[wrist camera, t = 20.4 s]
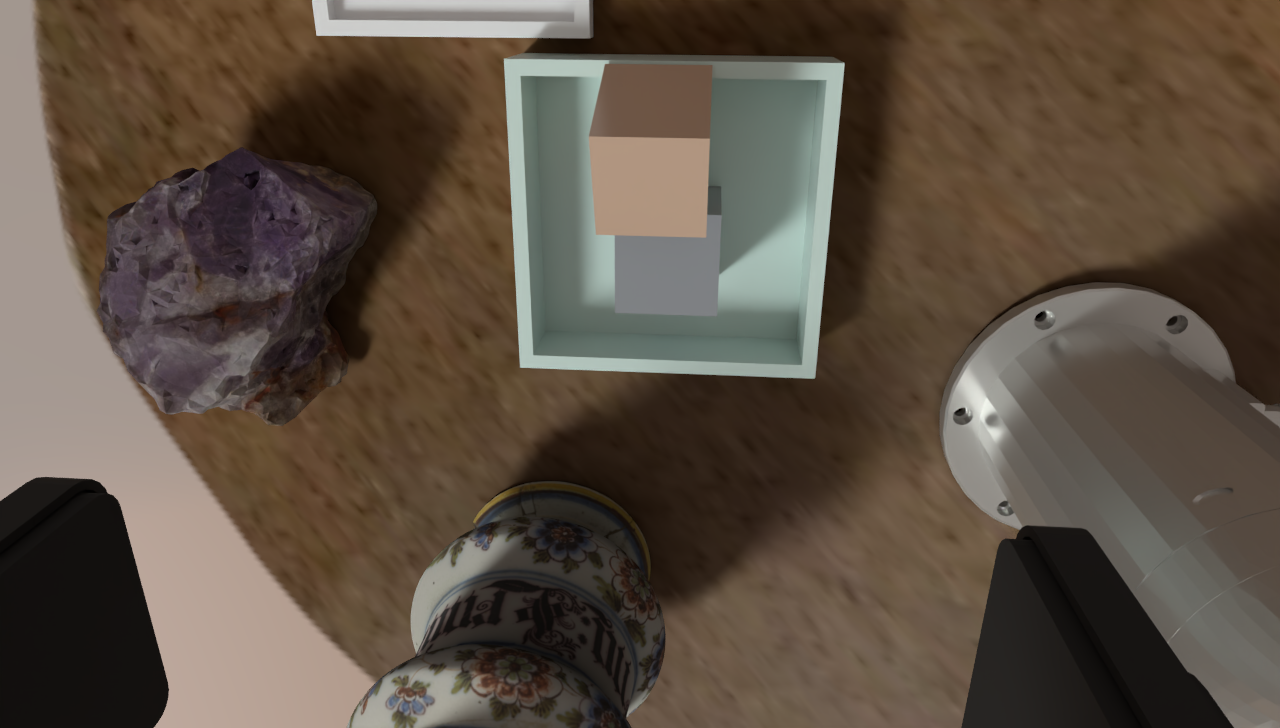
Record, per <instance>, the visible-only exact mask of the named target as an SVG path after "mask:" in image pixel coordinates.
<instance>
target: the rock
mask: <svg viewBox="0 0 1280 728" xmlns="http://www.w3.org/2000/svg"><path fill="white" fill-rule="evenodd" d="M376 214H377V202H376V200H375V198H374V196H373V195H372V194H371V193H369V192H368V191H366V190H365V189H363V187H362V186H361V185H360V184H359V183H358V182H356V181H355V180H353V179H352V178H350V177H348V176H345V175H342V174H339V173H336V172H334V171H333V170H332V169H329V168H326V167H322V166H309V165H307V164H304V163H301V162H288V161H282V160H273V159H269V158H266V157H264V156H261V155H259V154H257V153H255V152H251V151H248V150H246V149H244V148H242V147H241V148H239V149H238V150H236V151H234V152H232V153H230V154H228V155H226V156H225V157H224V158H223V159H221V160H219V161H216V162H214V163H212V164H210V165H209V166H207V167H206V168H205V169H204V170H201V171H199V170H197V169H195V168H190V169H186V170H182V171H180V172H177V173H175V174H174V175H173V176H172V177H171V178H168V179H165V180H161V181H158V182H156V184H155V186H154V187H152V188H150V189H149V190H148V191H147V192H146V193H145V194H143V195H142V196H141V198H140V199H139V200H138V201H137V202H134V203H130V204H126V205H124V206H122V207H121V208H119V209H117V210H115V211H114V212H112V213H111V214H110V215H109V216H108V219H107V243H106V248H107V255H106V258H105V268H104V270H103V271H102V273H101V274H100V284H99V292H100V296H101V298H100V303H101V304H100V305H99V307H98V309H97V313H98V314H99V316H100V318H101V320H102V321H103V332H104V333H105V334H106V335H107V337H108V338H109V340H110V343H111V346H112V350H113V353H114V354H116V355H117V356H119V357H121V358H123V359H124V362H125V365H126V367H127V370H128V372H129V373H130V374H131V375H132V376H133V377H134V378H135V379H136V380H137V382H138V383H139V384H140V385H141V386H142V387H143V388H144V389H145V390H146V391H147V392H148V393H149V394H150V395H151V396H152V397H153V398H154V399H155V401H156V403H157V405H158V407H159V410H161V411H162V412H164V413H166V414H175V413H179V412H193V413H199V414H201V413H204V412H205V411H207V410H208V409H212V408H214V407H217V406H218V407H220V408H223V409H226V410H230V411H233V410H244V411H247V412H251V413H254V414H256V415H258V416H259V417H260V418H261V419H262V420H263V421H264V422H266V423H267V424H268V425H278V426H283V425H284V424H286V423H287V422H289V421H290V420H292V419H293V418H295V417H296V416H297V415H298V414H299V413H300V412H301V411H302V410H303V409H304V408H305V407H306V406H307V405H308V404H309V403H310V402H311V401H312V400H313V399H314V398H315V397H316V396H317V395H318V394H319V393H320V392H321V391H323V390H324V389H325V388H327V387H331V386H335V385H337V384H338V383H340V382H341V378H342V377H343V376H344V375H346V374H347V368H348V362H349V358H350V357H349V356H348V354H347V353H346V351H345V350H344V347H343V345H342V342H341V339H340V336H339V334H338V332H337V331H336V330H335V329H334V328H333V327H332V326H331V325H330V323H329V322H328V320H327V318H328V314H327V312H326V311H325V308H326V306H327V304H328V303H329V301H330V299H331V297H332V296H333V295H335V294H337V293H338V291H339V290H340V289H341V288H342V286H343V285H344V284H345V280H346V271H347V267H348V263H349V262H350V260H351V259H352V258H353V256H354V254H355V252H356V251H357V249H358V248H360V247H362V246H363V245H364V242H365V240H366V238H367V236H368V235H369V230H370V225H371V223H372V222H373V220H374V218H375V216H376Z"/></svg>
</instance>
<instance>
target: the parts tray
mask: <svg viewBox="0 0 1280 728" xmlns="http://www.w3.org/2000/svg"><path fill="white" fill-rule="evenodd" d="M312 4H313V12H314V19H315V27H316V35H317V36H403V37H498V38H592V37H594V29H593V0H312Z"/></svg>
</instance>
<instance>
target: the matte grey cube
mask: <svg viewBox="0 0 1280 728" xmlns="http://www.w3.org/2000/svg"><path fill="white" fill-rule="evenodd" d="M721 219H722V202H721V186H708V203H707V230H706V238H700V237H662V236H624V235H615V313H632V314H660V315H688V316H716V317H717V307H718V285H719V263H720V241H721Z"/></svg>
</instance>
